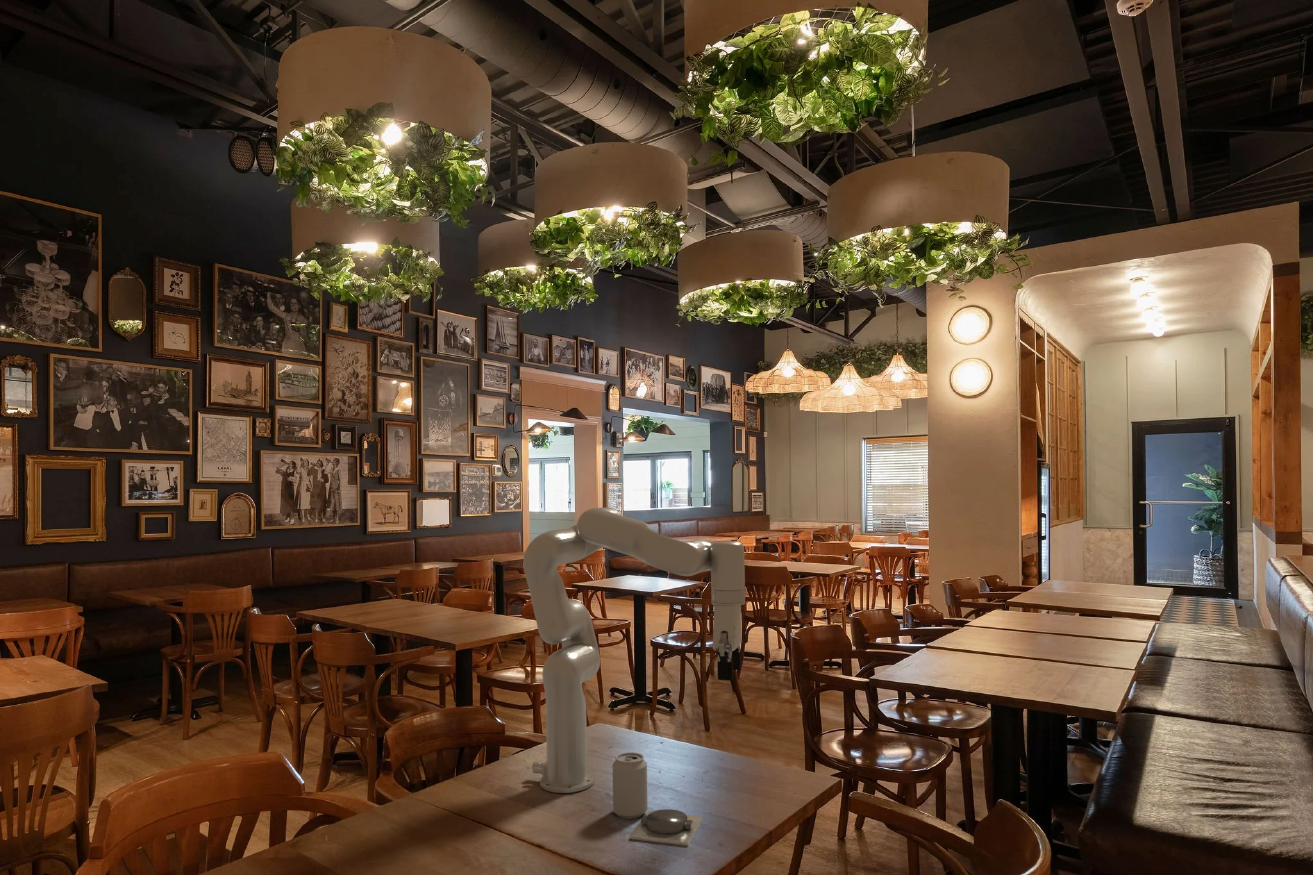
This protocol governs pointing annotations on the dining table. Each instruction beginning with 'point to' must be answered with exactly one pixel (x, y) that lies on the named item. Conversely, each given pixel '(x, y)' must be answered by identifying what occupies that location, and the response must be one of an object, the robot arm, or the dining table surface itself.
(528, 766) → the dining table surface
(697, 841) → the dining table surface
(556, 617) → the robot arm
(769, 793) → the dining table surface
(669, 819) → the white flat square plate
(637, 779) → the can
